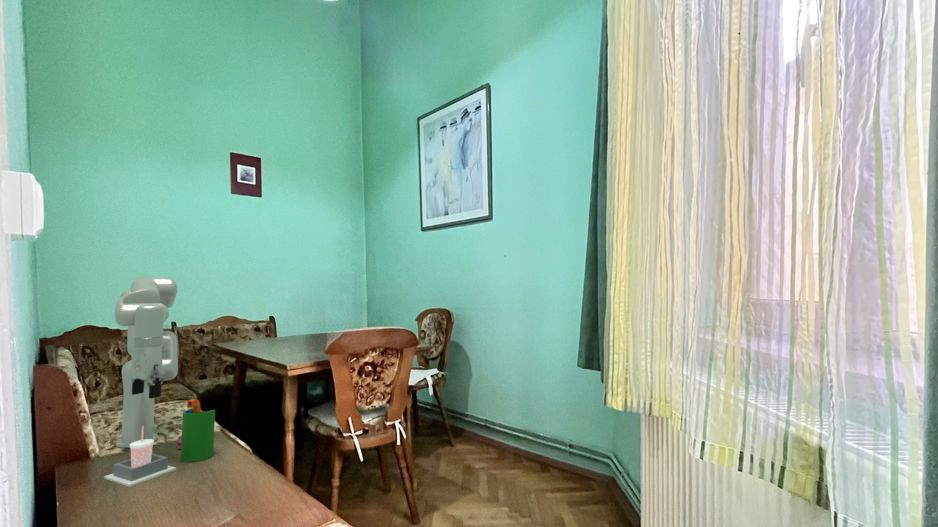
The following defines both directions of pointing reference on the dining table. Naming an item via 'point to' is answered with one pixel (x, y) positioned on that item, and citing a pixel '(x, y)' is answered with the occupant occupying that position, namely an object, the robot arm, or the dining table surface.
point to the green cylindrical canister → (197, 433)
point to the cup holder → (139, 471)
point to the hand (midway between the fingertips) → (146, 395)
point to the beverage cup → (141, 451)
